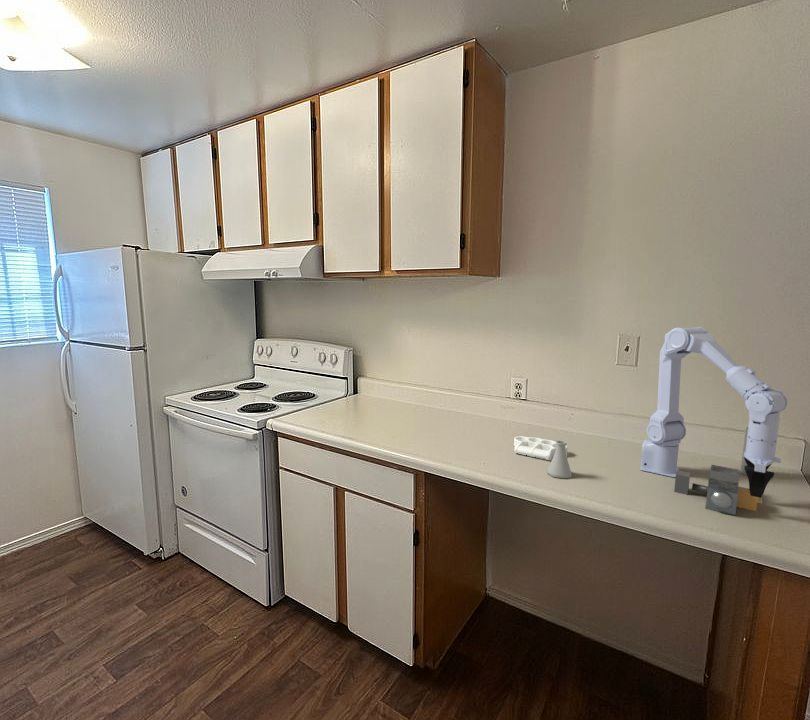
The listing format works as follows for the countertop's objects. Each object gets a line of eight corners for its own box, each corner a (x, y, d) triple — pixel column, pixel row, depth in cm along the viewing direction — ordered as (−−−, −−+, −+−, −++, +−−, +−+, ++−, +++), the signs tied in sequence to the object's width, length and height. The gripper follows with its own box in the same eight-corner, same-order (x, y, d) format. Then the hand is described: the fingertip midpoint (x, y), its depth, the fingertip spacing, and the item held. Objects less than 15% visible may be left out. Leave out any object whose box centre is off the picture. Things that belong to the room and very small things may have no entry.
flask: (543, 469, 135) (545, 437, 133) (567, 469, 134) (569, 438, 133) (550, 479, 128) (552, 445, 126) (575, 479, 127) (578, 446, 126)
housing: (705, 509, 110) (708, 484, 109) (709, 486, 123) (711, 464, 122) (735, 517, 106) (738, 491, 105) (735, 492, 120) (738, 469, 119)
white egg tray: (504, 453, 149) (520, 442, 161) (559, 465, 139) (571, 452, 151) (505, 444, 149) (520, 433, 161) (559, 455, 139) (571, 442, 151)
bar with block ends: (674, 492, 120) (675, 474, 119) (675, 487, 123) (677, 470, 122) (761, 512, 109) (763, 493, 108) (760, 506, 112) (763, 487, 111)
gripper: (785, 449, 100) (778, 506, 102) (780, 434, 112) (774, 485, 114) (746, 443, 105) (740, 497, 106) (745, 429, 116) (740, 478, 118)
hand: (755, 491), depth 110 cm, fingers open, 7 cm apart
